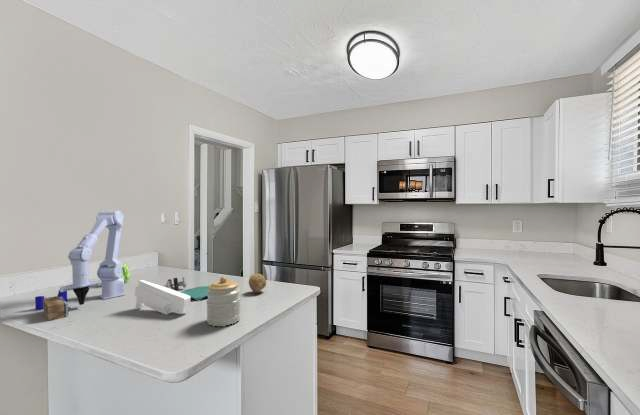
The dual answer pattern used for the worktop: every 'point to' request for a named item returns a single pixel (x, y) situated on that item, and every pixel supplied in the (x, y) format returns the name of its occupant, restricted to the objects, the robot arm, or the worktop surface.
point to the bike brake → (175, 283)
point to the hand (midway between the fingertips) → (81, 304)
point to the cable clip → (40, 298)
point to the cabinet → (53, 308)
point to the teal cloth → (197, 292)
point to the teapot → (125, 273)
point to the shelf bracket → (161, 298)
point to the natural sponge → (257, 282)
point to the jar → (223, 303)
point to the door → (65, 306)
